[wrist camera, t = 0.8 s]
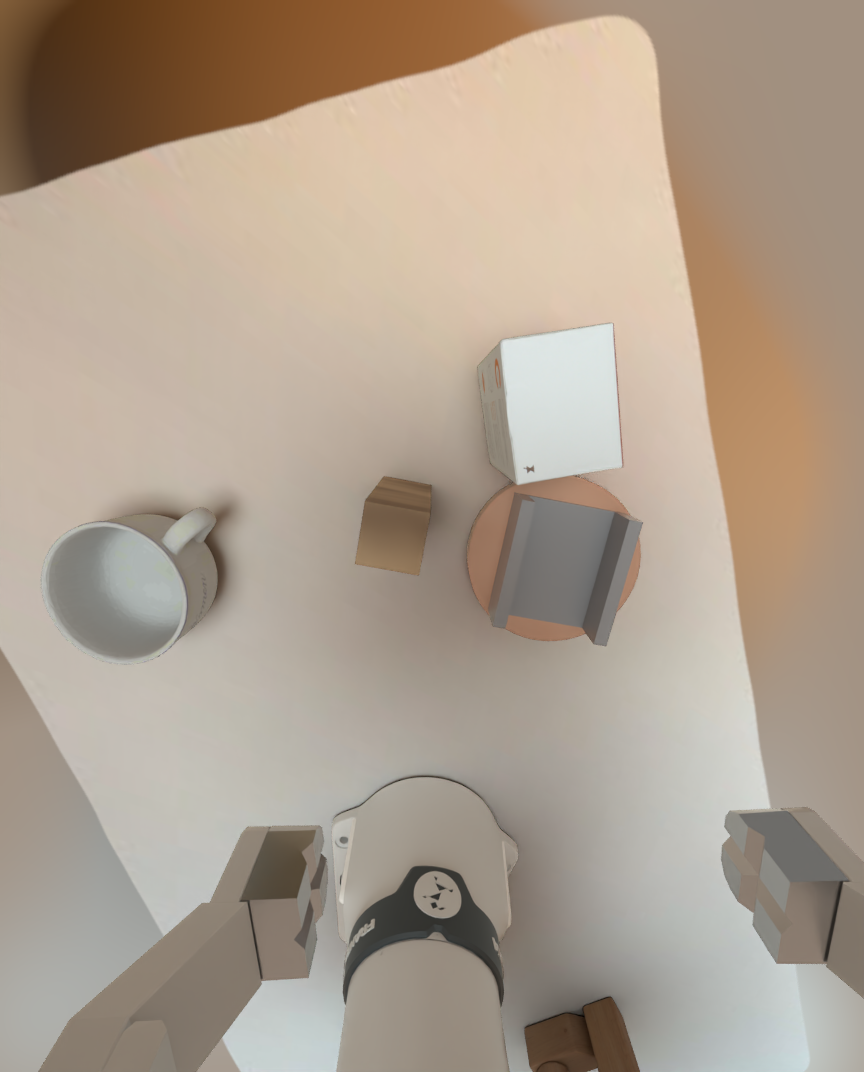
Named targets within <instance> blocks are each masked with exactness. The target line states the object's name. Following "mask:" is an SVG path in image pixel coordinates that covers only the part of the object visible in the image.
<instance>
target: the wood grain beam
mask: <svg viewBox="0 0 864 1072" xmlns="http://www.w3.org/2000/svg"><path fill="white" fill-rule="evenodd" d="M430 514H431V485H428V484H422V483H417V482H412V481H406V480H401V479H396V478H390V477H385V476H384V477H383V478H382V480H381V481H380V482H379V484H378V485H377V486H376V487H375V489H374V490H373V491H372V493H371V494H370V495H369V496H368V498H367V499H366V500H365V504H364V510H363V517H362V523H361V529H360V536H359V542H358V548H357V555H356V561H355V564H358V565H363V566H369V567H374V568H380V569H385V570H391V571H397V572H402V573H408V574H413V575H419V572H420V567H421V562H422V556H423V551H424V546H425V541H426V535H427V530H428V525H429V520H430Z"/></svg>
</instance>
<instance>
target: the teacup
mask: <svg viewBox="0 0 864 1072" xmlns="http://www.w3.org/2000/svg"><path fill="white" fill-rule="evenodd" d="M215 524H216V518H215V516H214V515H213V514H212V513H211V512H210V511H209V510H208V509H206V508H204V507H199V508H196V509H194V510H192V511H190V512H189V513H187V514H186V515H184V516H183V517H182V518H181V519H179V520H178V521H177V520H175V519H172V518H169V517H166V516H161V515H155V514H139V515H131V516H125V517H120V518H115V519H110V520H106V521H99V522H92V523H86V524H83V525H80V526H78V527H76V528H74V529H71V530H69V531H68V532H66V533H65V534H63V535H62V536H61V537H60V538H59V539H58V540H57V541H56V542H55V543H54V544H53V545H52V547H51V548H50V550H49V552H48V554H47V556H46V558H45V561H44V564H43V568H42V574H41V590H42V596H43V600H44V603H45V606H46V609H47V611H48V613H49V615H50V617H51V619H52V621H53V622H54V624H55V626H56V627H57V628H58V629H59V631H60V632H61V634H62V635H63V636H64V638H65V639H66V640H67V641H69V642H71V643H72V644H73V645H74V646H75V647H77V648H78V649H79V650H81V651H82V652H83V653H85V654H87V655H90V656H92V657H93V658H95V659H98V660H101V661H104V662H108V663H114V664H123V665H126V664H138V663H142V662H146V661H148V660H152V659H154V658H156V657H159V656H160V655H161V654H163V653H164V652H166V651H167V650H168V649H169V648H171V647H172V645H173V644H174V643H175V642H176V641H177V640H179V639H180V638H181V637H182V636H184V635H185V634H186V633H187V632H188V631H190V630H191V629H192V628H193V627H194V626H195V625H196V624H197V623H198V622H199V621H200V620H201V619H202V618H203V617H204V616H205V614H206V613H207V612H208V610H209V609H210V607H211V605H212V603H213V601H214V598H215V595H216V591H217V584H218V574H217V568H216V564H215V561H214V558H213V555H212V553H211V551H210V549H209V548H208V546H207V545H206V543H205V542H204V540H205V538H206V536H207V535H208V534H209V532H210V531H211V530H212V528H213V527H214V525H215Z"/></svg>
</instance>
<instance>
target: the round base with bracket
mask: <svg viewBox="0 0 864 1072" xmlns="http://www.w3.org/2000/svg"><path fill="white" fill-rule="evenodd" d="M642 524H643V522H641V521H639V520H637V519H635V518H633V517H631V516H630V514H629V513H628V511H627V510H626V508H625V507H624V506H623V505H622V503H621V502H620V501H619V500H618V499H617V498H616V497H615V496H613V495H612V494H611V493H610V492H608V491H607V490H605V489H603V488H602V487H600V486H598V485H596V484H594V483H591V482H589V481H587V480H584V479H582V478H579V477H576V476H567V477H561V478H555V479H550V480H544V481H538V482H533V483H528V484H522V485H517V484H515V483H514V482H513V483H511V484H509V485H508V486H506V487H504V488H503V489H502V490H500V491H499V492H498V493H496V494H495V495H494V496H493V497H492V498H491V499H490V500H489V501H488V502H487V503H486V504H485V506H484V507H483V508H482V510H481V511H480V513H479V514H478V516H477V518H476V519H475V522H474V524H473V526H472V529H471V532H470V535H469V539H468V545H467V565H468V571H469V575H470V580H471V583H472V587H473V590H474V592H475V595H476V597H477V599H478V601H479V602H480V604H481V606H482V607H483V609H484V610H485V611H486V612H487V614H488V615H489V616H490V619H491V622H492V626H493V627H499V628H505V629H507V630H509V631H510V632H512V633H514V634H517V635H519V636H522V637H525V638H529V639H533V640H541V641H558V640H566V639H570V638H574V637H578V636H581V635H583V634H587V635H588V637H589V638H590V640H591V641H592V642H593V644H596V645H602V646H606V645H607V642H608V638H609V635H610V632H611V628H612V625H613V622H614V618H615V615H616V612H617V611H618V610H619V609H620V608H621V607H622V605H623V604H624V603H625V601H626V600H627V598H628V597H629V595H630V593H631V591H632V589H633V587H634V584H635V582H636V579H637V576H638V572H639V567H640V558H641V552H640V541H639V534H640V531H641V527H642Z"/></svg>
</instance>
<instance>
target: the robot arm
mask: <svg viewBox="0 0 864 1072" xmlns="http://www.w3.org/2000/svg"><path fill="white" fill-rule="evenodd" d="M724 827H725V828H726V830H727V831H728V833H729V834H730V837H729V838H728V839H727V841H726V842H725V843H724V844H723V845H722V854H721V861H722V866H723V871H724V875H725V878H726V880H727V882H728V885H729V887H730V889H731V891H732V892H733V894H734V896H735V897H736V899H737V901H738V902H739V903H741V904H742V905H743V906H745V907H746V908H747V909H749V910H750V911H752V912H753V913H754V914H753V927H754V928H755V930H756V932H757V933H758V935H759V936H760V938H761V939H762V941H763V943H764V944H765V946H766V947H767V949H768V951H769V952H770V954H771V955H772V957H773V959H774V960H775V962H776V963H777V964H827V965H826V967H827V968H829V969H830V970H831V971H832V972H833V973H834V974H835V975H837V976H838V977H839V978H840V979H841V980H843V981H844V982H845V983H846V984H847V985H848V986H850V987H851V988H852V989H853V990H854V991H856V992H857V993H858V994H859V995H860V996H861V997H863V998H864V862H863V861H862V860H861V859H860V858H859V857H858V856H857V855H856V854H855V853H854V852H853V851H852V849H851V848H850V847H849V846H848V845H847V844H846V843H845V842H844V841H843V840H842V839H841V838H840V837H839V836H838V835H837V834H836V833H835V832H834V831H833V830H832V829H831V828H830V827H829V826H828V825H827V823H826V822H825V821H824V820H823V819H822V818H821V817H820V816H819V815H818V814H817V813H816V812H815V811H813V810H812V809H810V808H808V807H798V808H781V809H756V810H734V811H729V813H728V814H727V815H726V819H725V826H724ZM331 834H332V848H333V863H334V877H335V891H336V906H337V920H338V932H339V937H340V938H341V939H342V940H343V941H344V942H346V943H347V953H346V956H345V963H344V973H343V977H344V980H343V981H344V984H343V996H344V1002H345V1005H346V1007H345V1014H344V1021H343V1028H342V1035H341V1042H340V1049H339V1055H338V1062H337V1070H336V1072H510V1071H509V1065H508V1059H507V1053H506V1046H505V1039H504V1032H503V1025H502V1017H501V1006H502V1002H503V995H504V988H503V977H504V971H503V961H502V955H501V951H500V948H499V942H500V941H501V940H503V938H504V935H505V932H506V930H507V928H509V927H510V926H511V907H510V897H509V886H508V877H509V875H510V873H511V871H512V869H513V867H514V866H515V864H516V862H517V860H518V847H517V844H516V843H515V842H514V841H513V840H512V839H511V838H510V837H509V836H508V835H507V834H505V833H504V832H503V831H502V830H500V828H499V827H498V825H497V823H496V821H495V819H494V817H493V815H492V813H491V811H490V809H489V808H488V806H487V805H486V804H485V803H484V801H483V800H482V799H481V798H480V797H479V796H477V795H476V794H475V793H474V792H472V791H471V790H469V789H468V788H466V787H464V786H462V785H460V784H457V783H455V782H452V781H449V780H445V779H440V778H432V777H418V778H410V779H405V780H401V781H398V782H395V783H393V784H390V785H388V786H386V787H385V788H383V789H381V790H380V791H378V792H377V793H375V794H374V795H373V796H372V797H371V798H370V799H369V800H367V801H366V802H365V803H364V804H363V805H361V806H360V807H358V808H355V809H352V810H349V811H346V812H344V813H341V814H339V815H338V816H336V817H335V818H334V819H333V822H332V830H331ZM345 837H346V838H345ZM323 844H324V836H323V830H322V827H321V826H272V827H247V828H246V829H245V830H244V831H243V832H242V834H241V836H240V838H239V840H238V842H237V844H236V847H235V849H234V851H233V853H232V855H231V857H230V860H229V862H228V864H227V866H226V868H225V871H224V873H223V875H222V877H221V879H220V881H219V884H218V886H217V888H216V890H215V892H214V894H213V897H212V899H211V901H210V903H202V904H201V905H199V906H198V907H197V908H196V909H195V910H194V911H193V912H191V913H190V914H189V915H188V916H187V917H186V918H185V919H183V920H182V921H181V922H180V923H179V924H178V925H177V926H176V927H174V928H173V929H172V930H171V931H170V932H169V933H168V934H166V935H165V936H164V937H163V938H162V939H161V940H160V941H158V942H157V943H156V944H155V945H154V946H153V947H152V948H151V949H149V950H148V951H147V952H146V953H145V954H144V955H143V956H141V957H140V958H139V959H138V960H137V961H136V962H135V963H133V964H132V965H131V966H130V967H129V968H128V969H127V970H126V971H124V972H123V973H122V974H121V975H120V976H119V977H118V978H116V979H115V980H114V981H113V982H112V983H111V984H110V985H108V986H107V987H106V988H105V989H104V990H103V991H102V992H100V993H99V994H98V995H97V996H96V997H95V998H94V999H93V1000H92V1001H90V1002H89V1003H88V1004H87V1005H86V1006H85V1007H84V1008H82V1009H81V1010H80V1011H79V1012H78V1013H77V1014H76V1015H74V1016H73V1017H72V1018H71V1019H70V1020H69V1021H68V1023H67V1025H66V1026H65V1028H64V1030H63V1032H62V1033H61V1035H60V1036H59V1038H58V1040H57V1042H56V1043H55V1045H54V1046H53V1048H52V1050H51V1051H50V1053H49V1055H48V1056H47V1058H46V1060H45V1062H44V1063H43V1065H42V1066H41V1068H40V1070H39V1071H38V1072H196V1071H197V1070H198V1069H199V1067H200V1066H201V1065H202V1063H203V1062H204V1061H205V1059H206V1058H207V1057H208V1055H209V1054H210V1053H211V1051H212V1050H213V1049H214V1047H215V1046H216V1045H217V1043H218V1042H219V1041H220V1039H221V1038H222V1037H223V1035H224V1034H225V1033H226V1031H227V1030H228V1029H229V1027H230V1026H231V1025H232V1023H233V1022H234V1021H235V1019H236V1018H237V1017H238V1015H239V1014H240V1013H241V1011H242V1010H243V1009H244V1007H245V1006H246V1005H247V1003H248V1002H249V1001H250V999H251V998H252V997H253V995H254V994H255V993H256V991H257V990H258V989H259V987H260V986H261V985H262V983H261V981H266V980H281V979H297V978H309V974H310V969H311V965H312V961H313V956H314V952H315V947H316V943H317V932H316V924H315V923H316V922H317V921H318V920H319V918H320V917H321V916H322V915H323V911H324V906H325V901H326V894H327V884H328V868H327V859H326V858H325V857H324V856H323V855H322V854H321V852H322V848H323Z"/></svg>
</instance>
